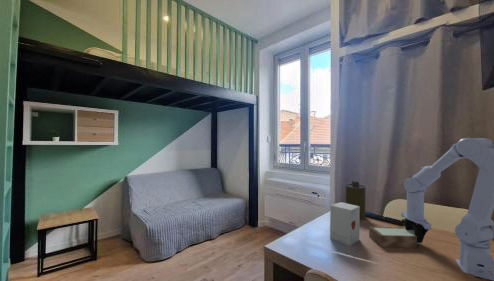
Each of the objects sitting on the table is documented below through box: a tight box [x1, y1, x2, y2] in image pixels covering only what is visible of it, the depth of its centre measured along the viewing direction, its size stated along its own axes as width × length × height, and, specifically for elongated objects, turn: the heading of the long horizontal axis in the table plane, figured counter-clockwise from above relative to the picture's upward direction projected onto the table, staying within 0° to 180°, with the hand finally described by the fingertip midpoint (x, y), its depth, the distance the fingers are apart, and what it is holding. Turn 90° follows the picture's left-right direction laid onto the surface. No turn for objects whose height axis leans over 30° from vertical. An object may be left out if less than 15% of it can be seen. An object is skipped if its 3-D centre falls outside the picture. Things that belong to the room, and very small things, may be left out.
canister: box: [344, 180, 367, 221], centre depth 124 cm, size 11×10×20 cm
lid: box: [373, 228, 422, 245], centre depth 91 cm, size 16×7×4 cm, turn 87°
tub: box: [368, 226, 418, 249], centre depth 91 cm, size 14×9×5 cm, turn 87°
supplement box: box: [329, 201, 360, 246], centre depth 94 cm, size 9×9×15 cm
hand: (414, 239), depth 91 cm, fingers closed on lid, 4 cm apart
